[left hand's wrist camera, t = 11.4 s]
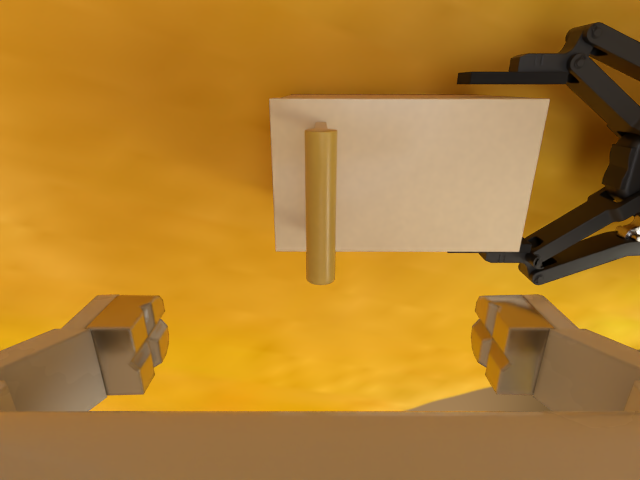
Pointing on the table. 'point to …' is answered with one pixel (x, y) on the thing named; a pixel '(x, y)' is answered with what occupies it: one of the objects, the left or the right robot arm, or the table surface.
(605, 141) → the table surface
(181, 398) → the table surface
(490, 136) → the lid
